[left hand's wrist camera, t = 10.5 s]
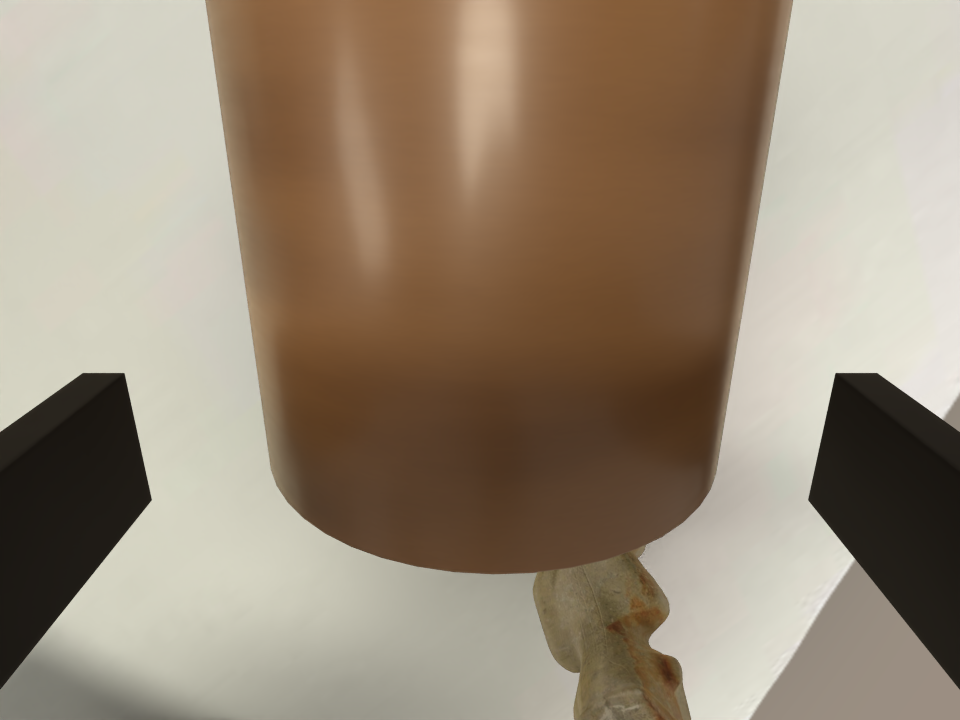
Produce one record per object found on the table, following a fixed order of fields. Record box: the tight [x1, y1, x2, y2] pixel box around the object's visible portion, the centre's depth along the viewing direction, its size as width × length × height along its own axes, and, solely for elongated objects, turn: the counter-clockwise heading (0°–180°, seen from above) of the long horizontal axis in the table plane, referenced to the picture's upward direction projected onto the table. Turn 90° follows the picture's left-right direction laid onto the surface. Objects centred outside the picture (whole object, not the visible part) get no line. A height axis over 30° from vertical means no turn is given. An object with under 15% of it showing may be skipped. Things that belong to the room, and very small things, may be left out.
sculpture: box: [533, 545, 691, 720], centre depth 31 cm, size 6×7×15 cm
